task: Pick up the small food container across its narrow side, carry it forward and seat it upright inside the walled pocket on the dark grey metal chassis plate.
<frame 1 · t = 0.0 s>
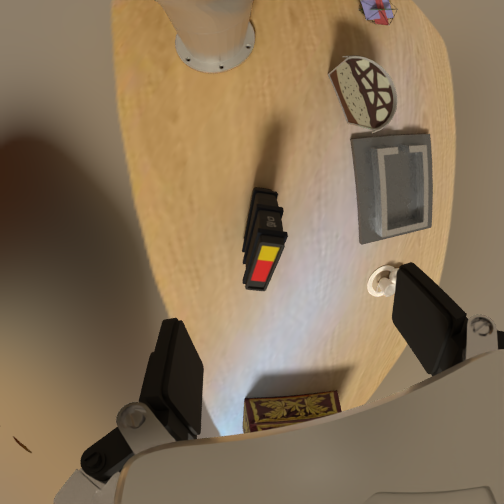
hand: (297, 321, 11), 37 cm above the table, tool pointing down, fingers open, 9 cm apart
white curved piece: (389, 285, 57), on the table
food container: (352, 94, 39), on the table
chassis: (396, 186, 47), on the table
geometric puzzle: (369, 14, 32), on the table
black tall block: (256, 223, 48), on the table
decorative box: (287, 410, 75), on the table
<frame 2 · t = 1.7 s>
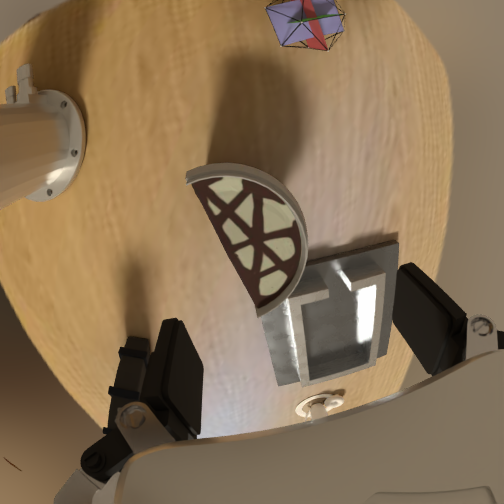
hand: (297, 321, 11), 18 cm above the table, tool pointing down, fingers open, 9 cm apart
white curved piece: (327, 405, 46), on the table
food container: (253, 201, 27), on the table
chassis: (332, 321, 35), on the table
geometric puzzle: (298, 29, 20), on the table
black tall block: (142, 366, 36), on the table
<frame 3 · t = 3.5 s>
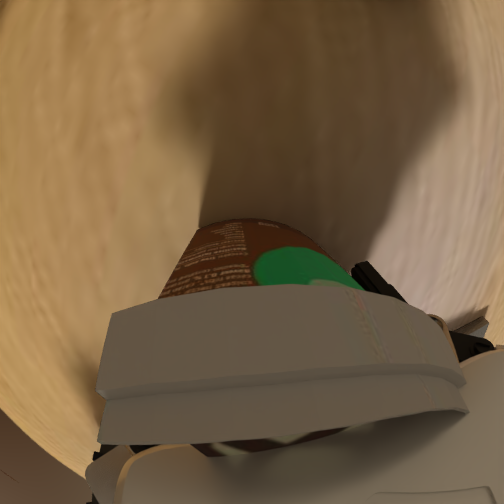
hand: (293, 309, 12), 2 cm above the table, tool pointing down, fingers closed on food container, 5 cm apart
food container: (297, 285, 14), on the table, touching gripper
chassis: (382, 417, 21), on the table
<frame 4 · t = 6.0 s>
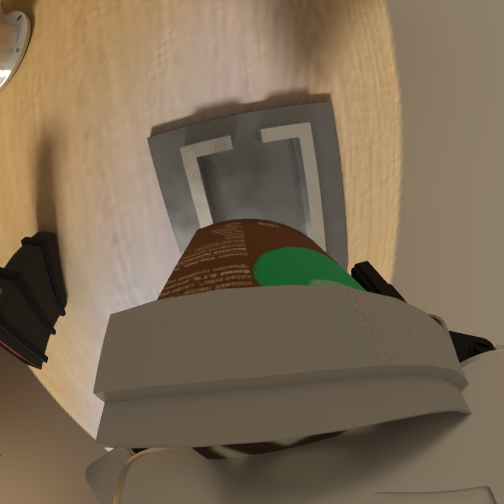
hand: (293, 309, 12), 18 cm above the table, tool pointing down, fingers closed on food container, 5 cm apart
food container: (298, 285, 13), point 16 cm above the table, touching gripper
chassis: (258, 209, 28), on the table
black tall block: (54, 276, 30), on the table
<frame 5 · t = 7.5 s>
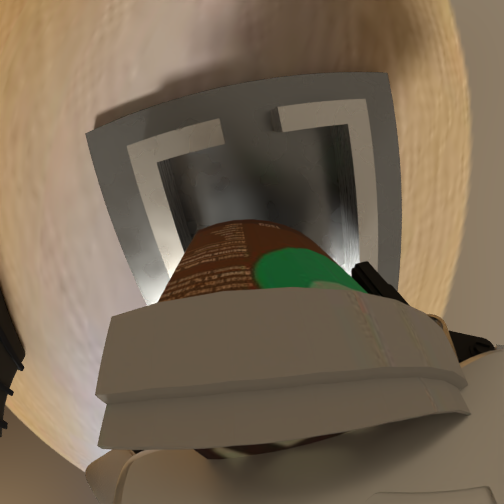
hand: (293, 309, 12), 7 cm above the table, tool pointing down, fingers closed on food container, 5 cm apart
food container: (298, 286, 14), point 5 cm above the table, touching gripper
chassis: (271, 246, 18), on the table
black tall block: (6, 322, 19), on the table
when the fingers open (5 cm above the table, at t = 8.2 s): food container drops 2 cm, resting on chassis.
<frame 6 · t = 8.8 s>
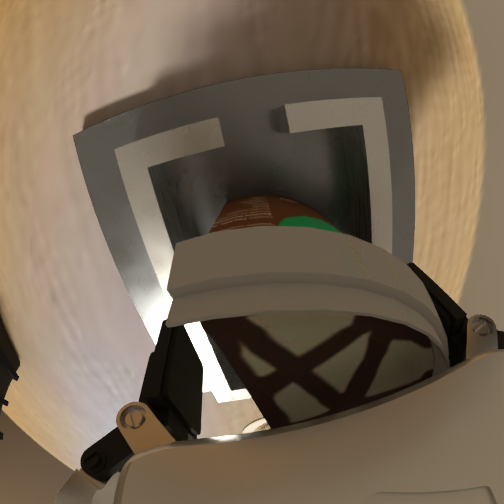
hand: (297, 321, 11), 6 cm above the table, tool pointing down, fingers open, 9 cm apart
food container: (310, 257, 15), point 1 cm above the table, touching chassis, gripper
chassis: (275, 257, 16), on the table
black tall block: (0, 331, 18), on the table
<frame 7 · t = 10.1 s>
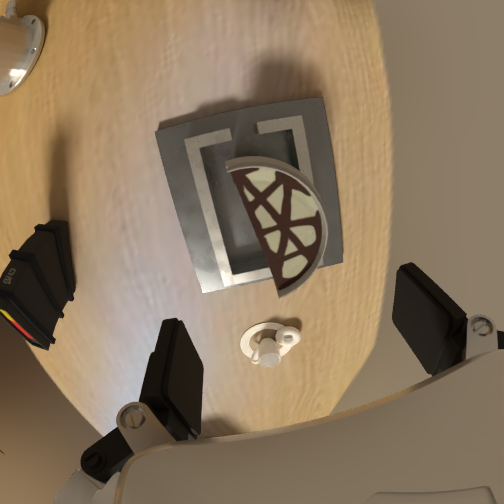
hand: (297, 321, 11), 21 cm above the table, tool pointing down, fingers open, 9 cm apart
white curved piece: (282, 346, 41), on the table
food container: (274, 195, 30), point 1 cm above the table, touching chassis
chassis: (257, 197, 31), on the table
black tall block: (64, 263, 32), on the table
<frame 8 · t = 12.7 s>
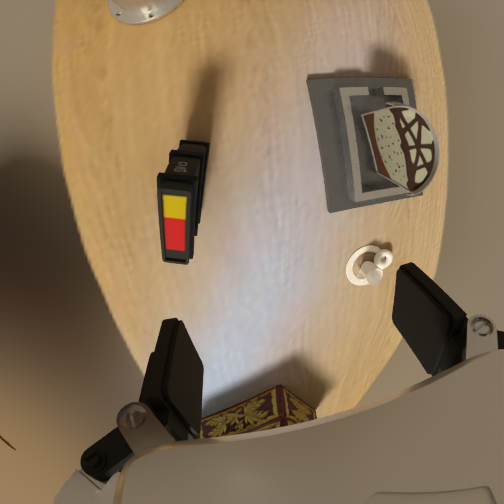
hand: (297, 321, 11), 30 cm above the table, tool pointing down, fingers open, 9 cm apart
white curved piece: (374, 271, 48), on the table
food container: (385, 139, 36), point 1 cm above the table, touching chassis
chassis: (372, 140, 37), on the table
black tall block: (191, 186, 38), on the table
decorative box: (255, 417, 65), on the table
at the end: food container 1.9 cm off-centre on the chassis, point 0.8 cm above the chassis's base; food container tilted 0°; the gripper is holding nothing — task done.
